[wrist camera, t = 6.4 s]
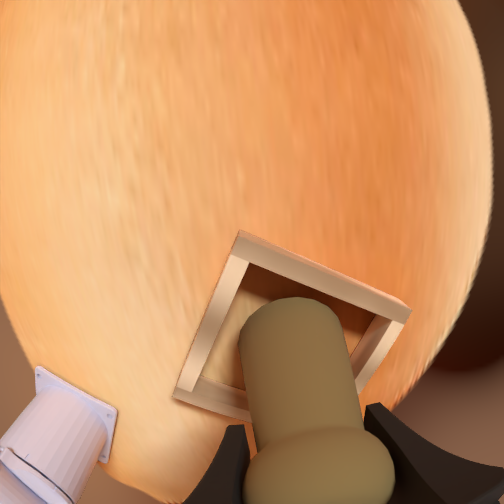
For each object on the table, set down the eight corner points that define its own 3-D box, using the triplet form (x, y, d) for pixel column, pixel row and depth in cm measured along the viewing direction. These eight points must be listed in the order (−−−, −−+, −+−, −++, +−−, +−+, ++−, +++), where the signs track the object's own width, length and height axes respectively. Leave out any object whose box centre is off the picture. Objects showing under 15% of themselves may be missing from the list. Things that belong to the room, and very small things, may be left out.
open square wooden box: (318, 420, 20) (323, 438, 18) (177, 378, 19) (172, 397, 17) (398, 298, 17) (412, 310, 16) (239, 229, 16) (238, 235, 14)
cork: (237, 382, 17) (230, 550, 7) (238, 295, 15) (222, 499, 5) (333, 381, 17) (381, 533, 7) (350, 296, 15) (453, 462, 5)
